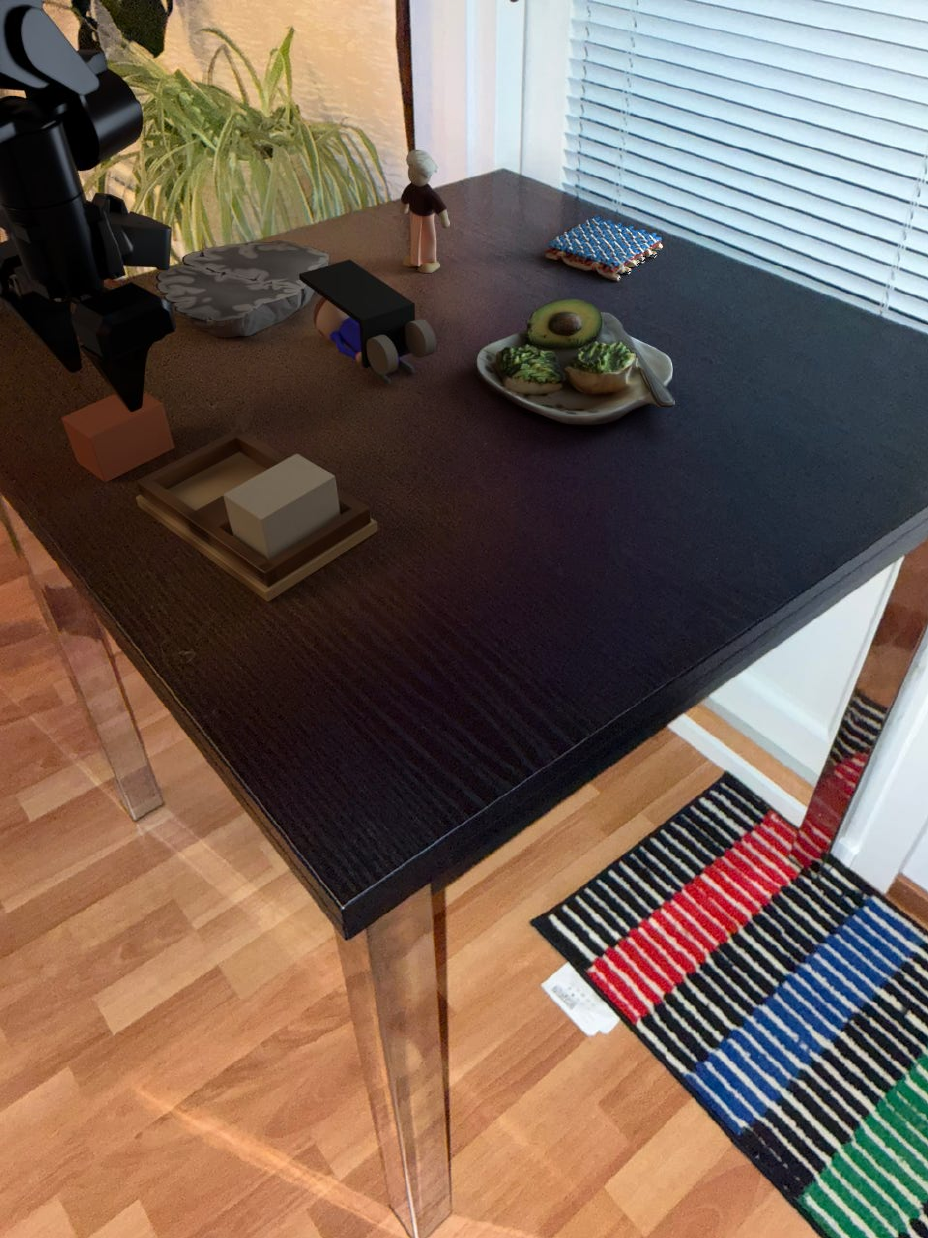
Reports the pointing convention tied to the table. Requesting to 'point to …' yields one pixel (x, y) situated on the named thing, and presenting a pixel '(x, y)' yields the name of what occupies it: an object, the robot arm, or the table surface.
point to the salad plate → (576, 366)
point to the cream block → (282, 505)
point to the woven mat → (604, 247)
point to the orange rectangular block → (117, 435)
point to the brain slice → (240, 285)
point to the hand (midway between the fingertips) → (105, 389)
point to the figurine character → (368, 318)
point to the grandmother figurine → (422, 211)
